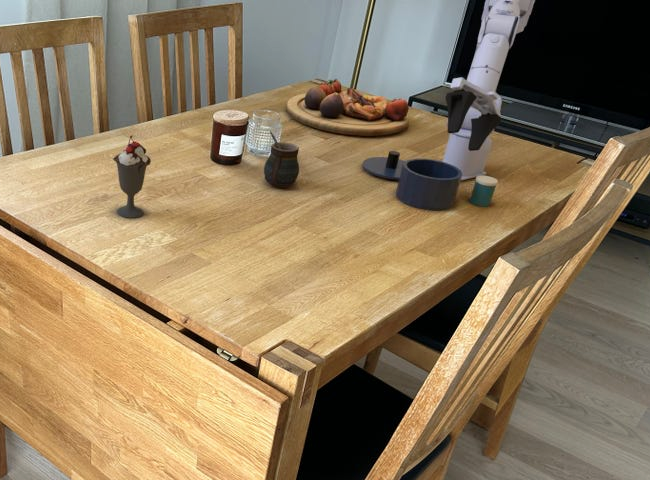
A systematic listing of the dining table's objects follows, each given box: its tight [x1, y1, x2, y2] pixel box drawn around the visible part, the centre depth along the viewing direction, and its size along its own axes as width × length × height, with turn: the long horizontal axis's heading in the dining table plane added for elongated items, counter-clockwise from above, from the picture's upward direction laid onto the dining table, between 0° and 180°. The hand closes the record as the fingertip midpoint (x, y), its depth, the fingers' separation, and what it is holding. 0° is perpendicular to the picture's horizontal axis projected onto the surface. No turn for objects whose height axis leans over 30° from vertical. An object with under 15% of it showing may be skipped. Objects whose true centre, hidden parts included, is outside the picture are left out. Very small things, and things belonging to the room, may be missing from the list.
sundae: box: [112, 134, 152, 219], centre depth 130 cm, size 7×7×15 cm
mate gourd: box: [263, 131, 300, 189], centre depth 147 cm, size 7×8×10 cm
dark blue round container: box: [395, 158, 462, 211], centre depth 147 cm, size 11×11×6 cm
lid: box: [361, 150, 406, 181], centre depth 159 cm, size 12×12×4 cm
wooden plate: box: [285, 78, 410, 137], centre depth 189 cm, size 32×32×8 cm
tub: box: [469, 175, 499, 207], centre depth 148 cm, size 4×4×5 cm
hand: (463, 141), depth 140 cm, fingers open, 7 cm apart
